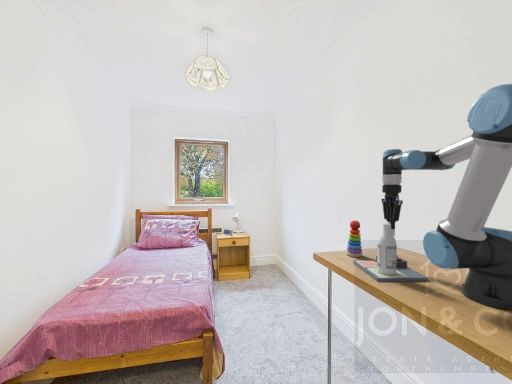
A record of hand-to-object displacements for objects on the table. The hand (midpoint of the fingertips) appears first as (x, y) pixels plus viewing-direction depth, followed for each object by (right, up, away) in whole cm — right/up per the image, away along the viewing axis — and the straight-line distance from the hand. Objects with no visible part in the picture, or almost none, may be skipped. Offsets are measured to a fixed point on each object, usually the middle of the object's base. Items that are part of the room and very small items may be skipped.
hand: (390, 235), depth 109 cm
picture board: (-5, -14, -6) cm, 16 cm away
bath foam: (-8, -13, -11) cm, 19 cm away
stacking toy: (-9, -14, +18) cm, 25 cm away
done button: (0, -11, 0) cm, 11 cm away
